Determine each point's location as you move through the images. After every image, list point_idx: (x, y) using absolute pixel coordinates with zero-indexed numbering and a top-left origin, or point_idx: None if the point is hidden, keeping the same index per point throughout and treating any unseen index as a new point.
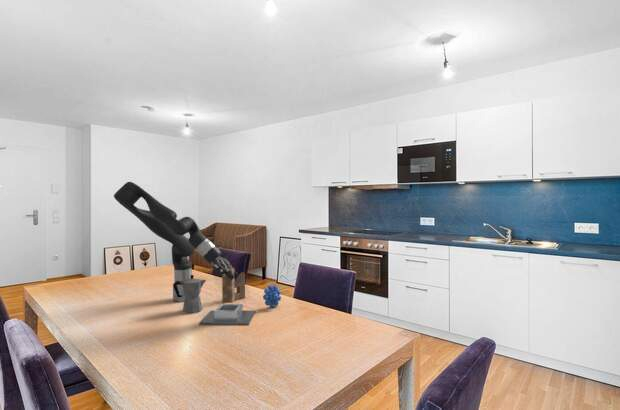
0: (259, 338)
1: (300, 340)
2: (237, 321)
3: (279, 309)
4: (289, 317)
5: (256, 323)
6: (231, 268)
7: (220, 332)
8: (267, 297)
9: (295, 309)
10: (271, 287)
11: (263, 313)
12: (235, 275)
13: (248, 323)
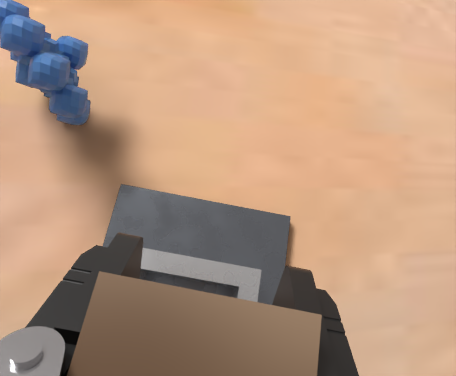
0: (427, 178)
1: (436, 56)
2: (269, 271)
3: (107, 80)
4: (222, 57)
5: (273, 185)
6: (126, 345)
7: (370, 348)
8: (86, 91)
9: (127, 22)
10: (40, 27)
11: (146, 151)
12: (139, 265)
13: (288, 218)
